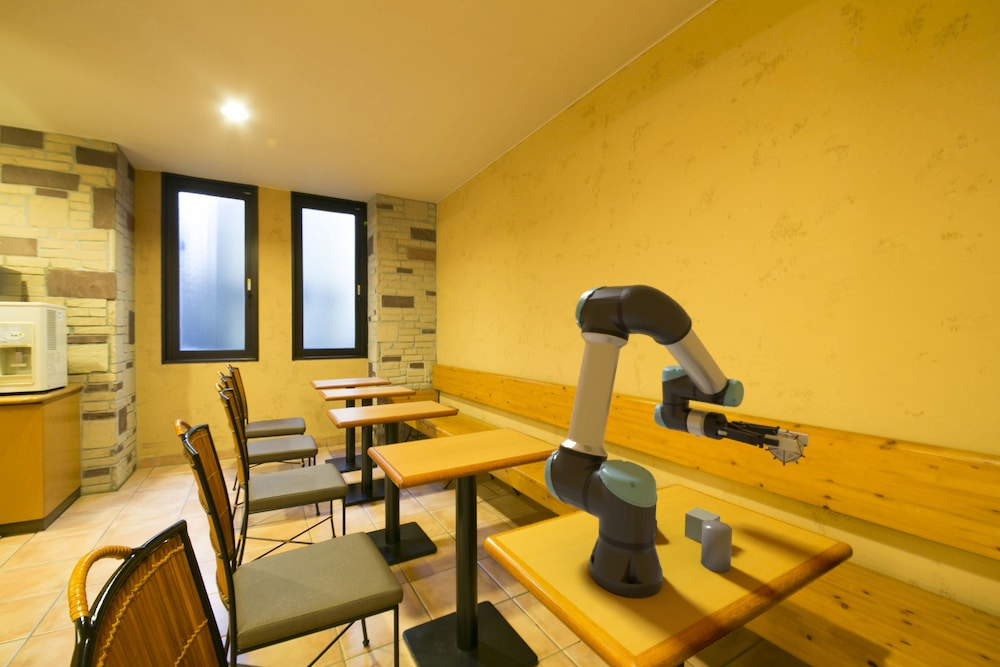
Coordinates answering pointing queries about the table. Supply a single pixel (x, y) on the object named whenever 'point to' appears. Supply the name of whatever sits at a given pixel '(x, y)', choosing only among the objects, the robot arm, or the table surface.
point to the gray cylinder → (716, 546)
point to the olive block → (697, 522)
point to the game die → (784, 454)
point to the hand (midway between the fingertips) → (802, 443)
